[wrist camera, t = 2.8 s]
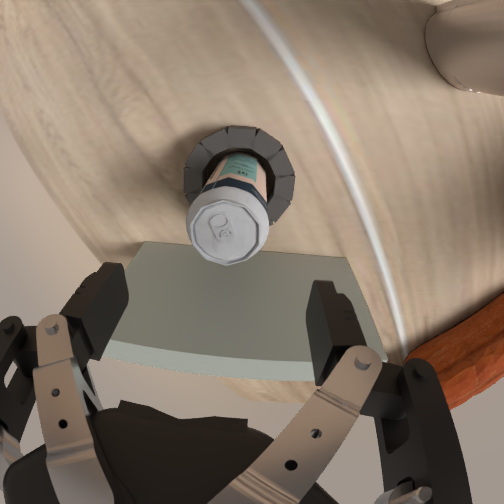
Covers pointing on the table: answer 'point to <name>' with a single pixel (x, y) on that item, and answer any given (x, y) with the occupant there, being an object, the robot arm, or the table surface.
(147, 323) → the board
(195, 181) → the cradle
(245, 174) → the beer can
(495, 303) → the bread
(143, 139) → the table surface
